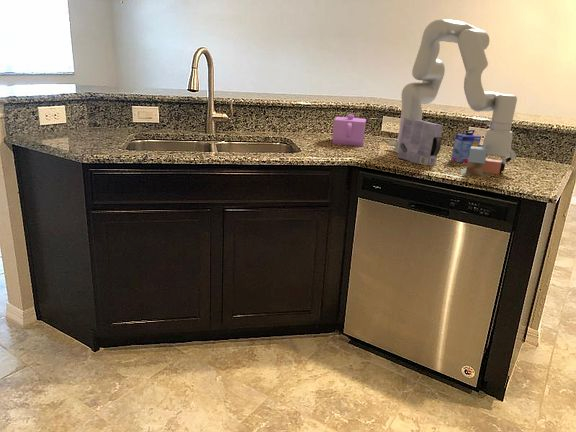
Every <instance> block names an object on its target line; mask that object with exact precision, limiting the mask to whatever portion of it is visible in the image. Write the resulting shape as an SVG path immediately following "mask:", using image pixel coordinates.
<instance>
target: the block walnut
mask: <svg viewBox="0 0 576 432" xmlns="http://www.w3.org/2000/svg"><path fill="white" fill-rule="evenodd" d="M484 165H485V164H483V163H475V162H468V163H467V164H466V169H465V170H466V174H465V175H468V174H469V175H470V176H475V175H476V176H477V177H482V174H483V173H484V172H483V170H484Z"/></svg>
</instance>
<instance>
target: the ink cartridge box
mask: <svg viewBox="0 0 576 432" xmlns="http://www.w3.org/2000/svg"><path fill="white" fill-rule="evenodd" d="M475 132H476V129H473V130H470V129H469V130H468V131H467V132H466V133H456V134H455V137H454V143H453V149H452V153H451V158H450V161H453V162H456V163H468V158H469V153H470V148H471V146H474V147H480V144H481V140H482V139H481V138H482V136H481V135H478V134H475Z"/></svg>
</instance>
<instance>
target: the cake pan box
mask: <svg viewBox="0 0 576 432" xmlns="http://www.w3.org/2000/svg"><path fill="white" fill-rule="evenodd" d="M443 128H444V125H443V124H439V123H433V122H429V121H427V120H417V119H413V118H404V123H403V129H402V134H401V140H400V146H399V151H398V153H397V159H402V160H405V161H408V162H411V163H413V164H417V165H420V164H421V165H420V166H424V165H426V166H433V165H436V164H437V157H438V154H439V153H440V151H441V146H442V133H443Z"/></svg>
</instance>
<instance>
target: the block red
mask: <svg viewBox="0 0 576 432" xmlns="http://www.w3.org/2000/svg"><path fill="white" fill-rule="evenodd" d="M501 163H502V159H501V160H499V159H493V158H492V159H491V158H486V160H485V165H484V170H483V173H488V174H489V173H490V174H496V175H500V173H499V172H500V168H501Z"/></svg>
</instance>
